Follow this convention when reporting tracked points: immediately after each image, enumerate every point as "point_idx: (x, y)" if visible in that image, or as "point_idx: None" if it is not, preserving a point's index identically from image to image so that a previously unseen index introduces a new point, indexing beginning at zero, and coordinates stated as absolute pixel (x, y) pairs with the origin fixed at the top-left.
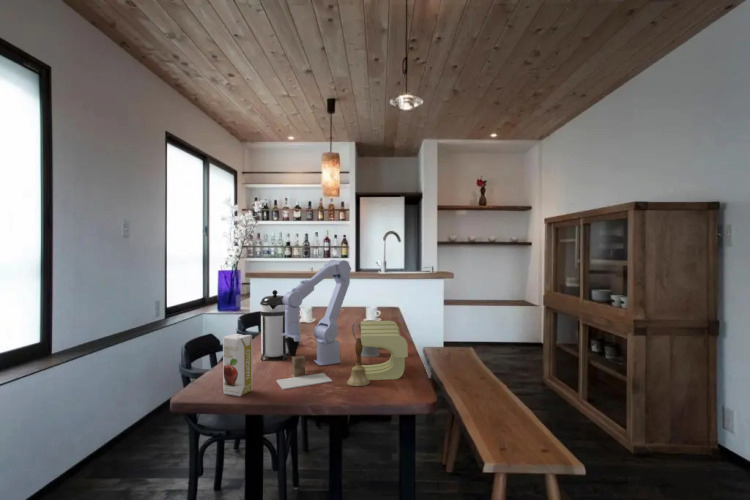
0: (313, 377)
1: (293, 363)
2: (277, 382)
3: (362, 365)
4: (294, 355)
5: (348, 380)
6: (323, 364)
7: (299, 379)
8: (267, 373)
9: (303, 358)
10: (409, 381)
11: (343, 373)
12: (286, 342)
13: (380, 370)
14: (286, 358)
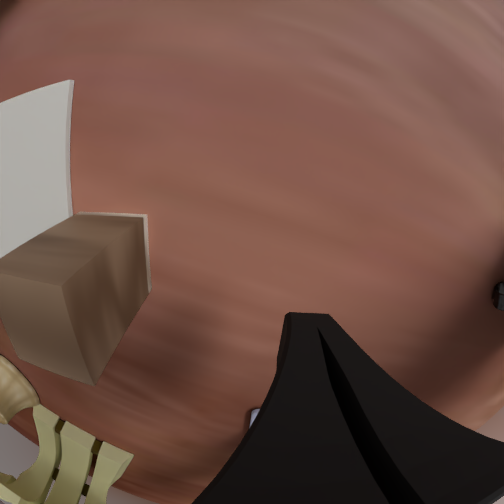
0: None
1: (49, 250)
2: (47, 87)
3: (118, 464)
4: (277, 358)
5: (1, 366)
6: (250, 423)
7: (30, 224)
8: (300, 51)
9: (13, 343)
10: (32, 435)
11: (99, 411)
12: (422, 455)
13: (53, 447)
14: (494, 300)
